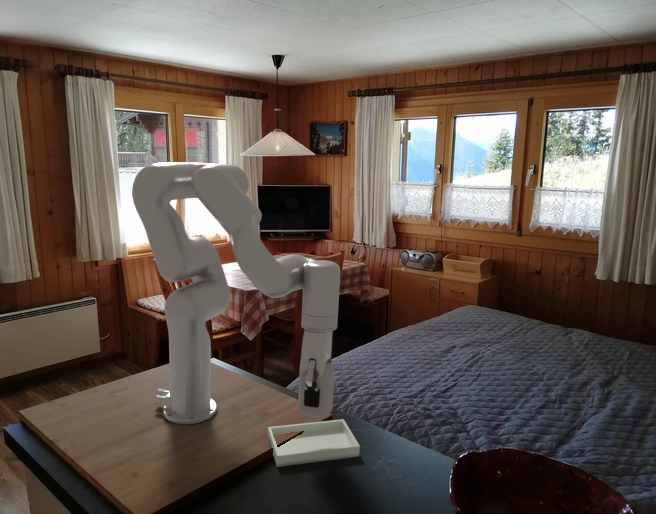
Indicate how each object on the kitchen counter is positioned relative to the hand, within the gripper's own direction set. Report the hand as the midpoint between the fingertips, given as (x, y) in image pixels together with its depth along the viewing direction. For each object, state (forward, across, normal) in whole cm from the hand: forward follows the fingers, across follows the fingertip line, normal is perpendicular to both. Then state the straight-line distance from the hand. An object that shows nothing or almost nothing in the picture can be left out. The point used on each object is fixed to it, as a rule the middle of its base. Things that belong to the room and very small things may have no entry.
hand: (315, 396), depth 110 cm
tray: (+12, 0, 0) cm, 12 cm away
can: (+4, 0, 0) cm, 4 cm away
